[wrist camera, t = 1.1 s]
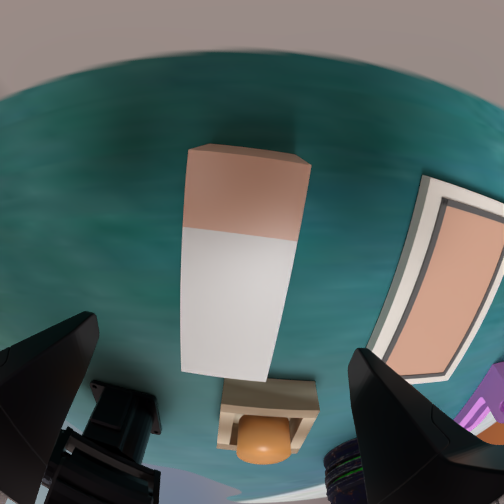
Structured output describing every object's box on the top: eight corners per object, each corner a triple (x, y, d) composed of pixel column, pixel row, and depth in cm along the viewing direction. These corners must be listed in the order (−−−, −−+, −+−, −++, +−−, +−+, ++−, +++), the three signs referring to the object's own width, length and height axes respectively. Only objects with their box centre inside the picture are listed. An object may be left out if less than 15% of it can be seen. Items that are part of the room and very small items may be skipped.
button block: (294, 427, 24) (296, 453, 21) (219, 422, 24) (216, 448, 21) (314, 381, 21) (319, 410, 19) (224, 373, 21) (221, 403, 18)
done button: (283, 436, 22) (284, 465, 19) (236, 433, 21) (234, 462, 19) (294, 411, 20) (296, 442, 17) (241, 407, 20) (239, 439, 17)
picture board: (443, 373, 21) (448, 381, 20) (351, 377, 21) (355, 388, 20) (515, 208, 15) (525, 213, 14) (422, 174, 15) (432, 178, 14)
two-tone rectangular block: (264, 326, 19) (265, 382, 15) (197, 317, 19) (181, 371, 15) (295, 154, 15) (311, 165, 10) (210, 143, 15) (188, 149, 10)
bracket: (492, 363, 22) (521, 406, 15) (517, 356, 22) (545, 394, 15) (440, 433, 27) (456, 473, 20) (468, 425, 27) (485, 461, 21)
